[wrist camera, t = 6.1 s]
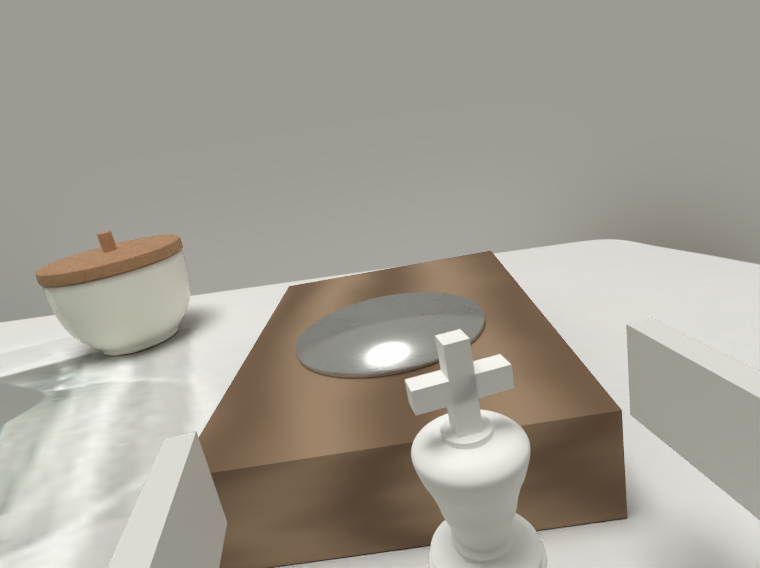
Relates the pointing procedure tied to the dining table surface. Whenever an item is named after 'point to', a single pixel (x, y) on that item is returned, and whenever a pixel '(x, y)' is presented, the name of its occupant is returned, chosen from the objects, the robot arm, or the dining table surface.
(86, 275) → the lidded jar
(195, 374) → the dining table surface
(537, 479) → the walnut base
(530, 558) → the chess piece
